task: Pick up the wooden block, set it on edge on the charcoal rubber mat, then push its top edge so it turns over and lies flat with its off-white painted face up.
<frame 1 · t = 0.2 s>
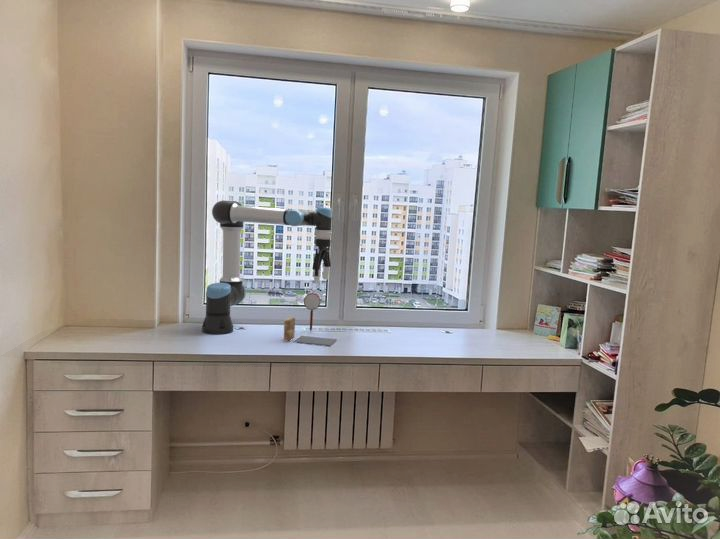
hand: (321, 281, 260), 27 cm above the table, tool pointing down, fingers open, 13 cm apart
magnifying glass: (310, 331, 269), on the table
mat: (315, 341, 249), on the table
wooden block: (288, 339, 251), on the table
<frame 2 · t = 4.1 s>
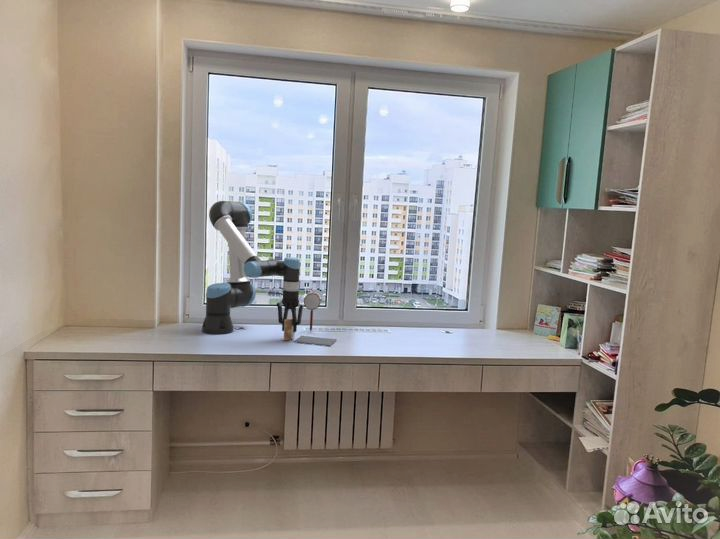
hand: (289, 338, 251), 1 cm above the table, tool pointing down, fingers closed on wooden block, 3 cm apart
wooden block: (288, 339, 251), on the table, touching gripper
everything else where it was.
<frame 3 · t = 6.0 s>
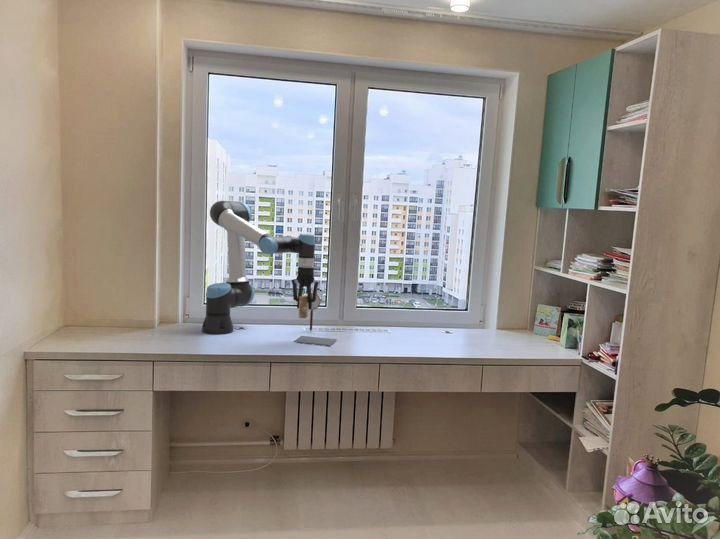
hand: (304, 315, 248), 12 cm above the table, tool pointing down, fingers closed on wooden block, 3 cm apart
wooden block: (303, 316, 248), point 12 cm above the table, touching gripper
everything else where it was.
when the fingers open (2 cm above the table, at t = 8.3 s): wooden block stays where it is, resting on mat.
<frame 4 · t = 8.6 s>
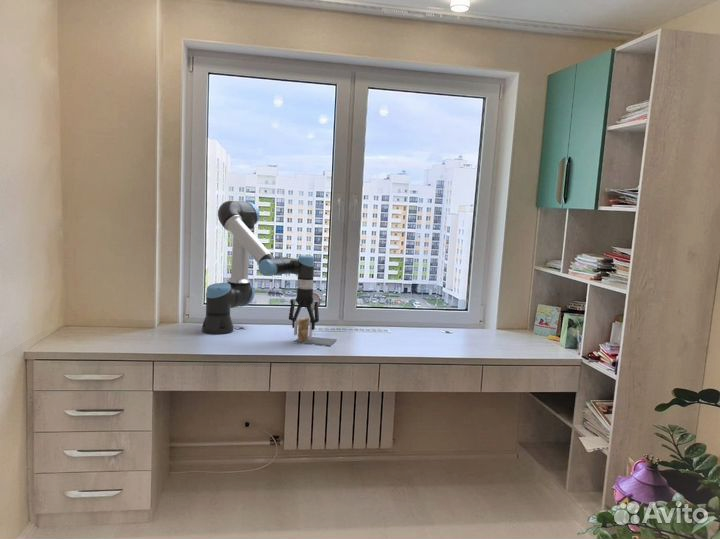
hand: (303, 335, 249), 3 cm above the table, tool pointing down, fingers open, 7 cm apart
wooden block: (302, 339, 249), point 1 cm above the table, touching mat
everything else where it was.
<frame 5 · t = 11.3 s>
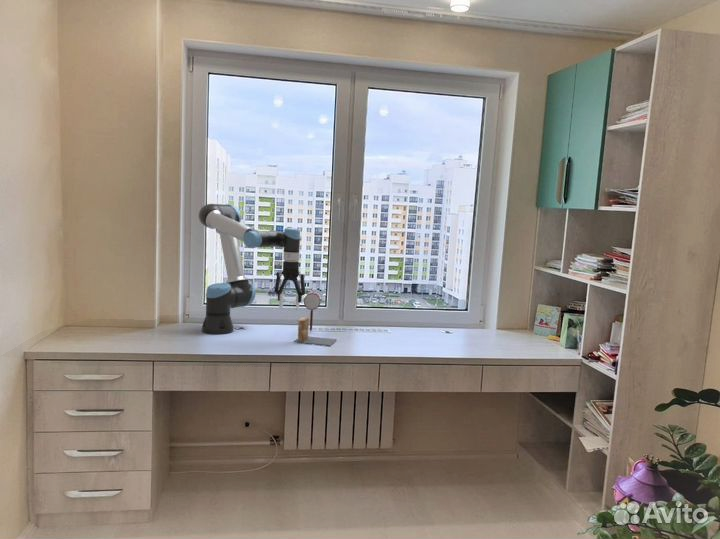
hand: (289, 308, 249), 15 cm above the table, tool pointing down, fingers open, 8 cm apart
nothing on the table moved.
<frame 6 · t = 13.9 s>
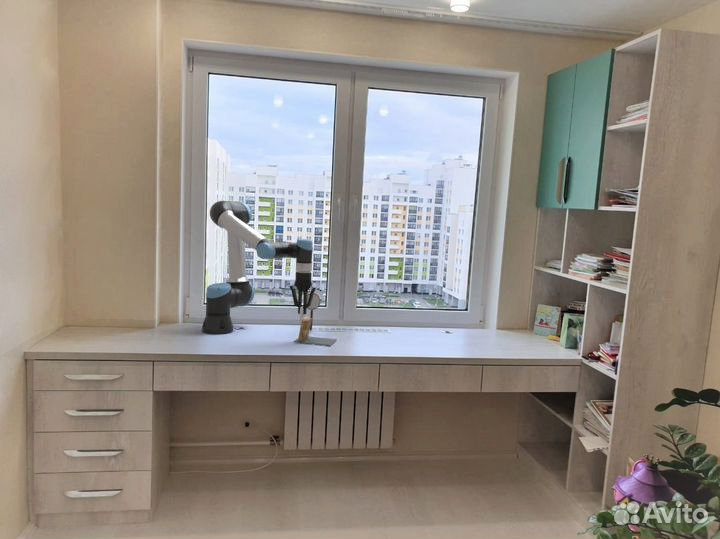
hand: (301, 320, 249), 10 cm above the table, tool pointing down, fingers closed
wooden block: (302, 339, 249), point 1 cm above the table, tilted 9°, touching gripper, mat
everything else where it was.
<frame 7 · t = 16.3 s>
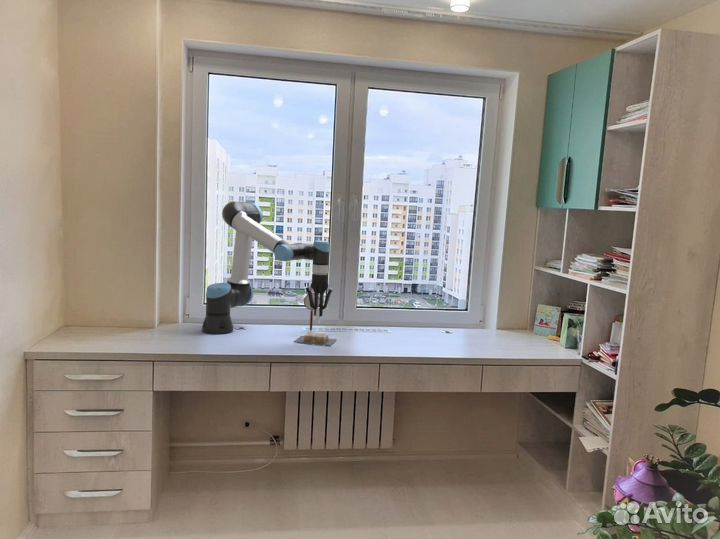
hand: (317, 322, 247), 9 cm above the table, tool pointing down, fingers closed
wooden block: (306, 336, 249), point 2 cm above the table, tilted 90°, touching mat
everything else where it was.
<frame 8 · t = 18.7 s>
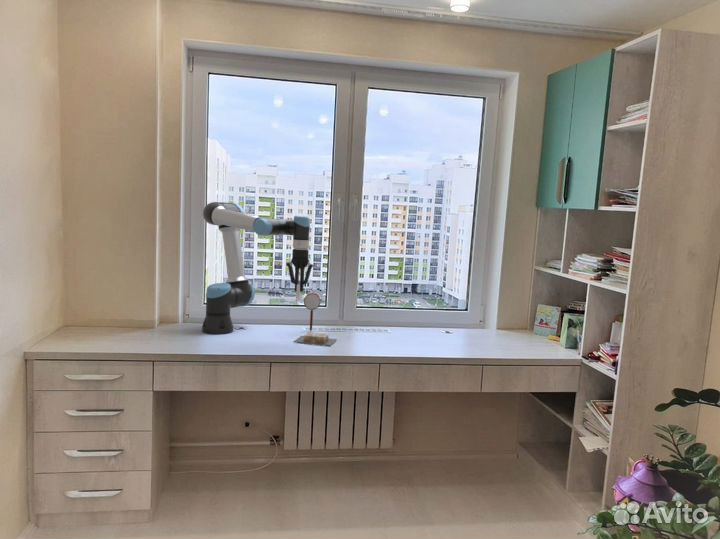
hand: (298, 298, 248), 20 cm above the table, tool pointing down, fingers closed
nothing on the table moved.
at the end: wooden block tilted 90°; wooden block touching mat; wooden block inside the target area (4.9 cm from its centre), point 2.1 cm above the table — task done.
